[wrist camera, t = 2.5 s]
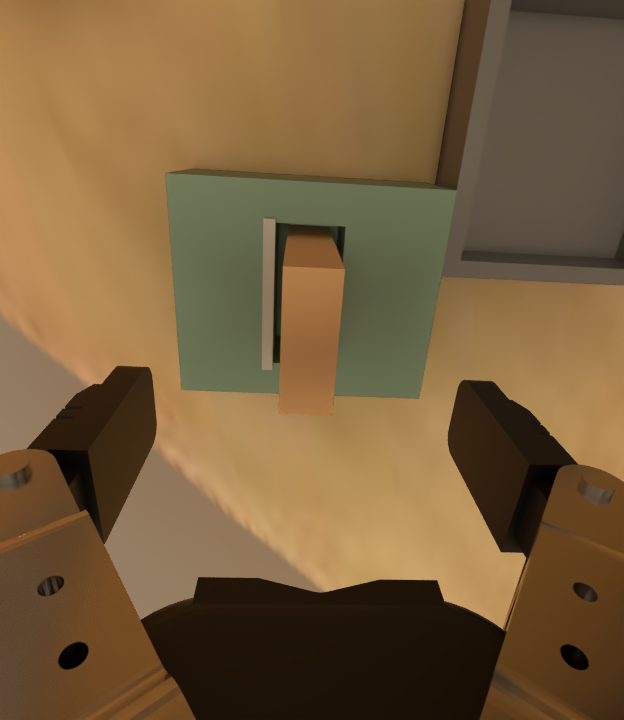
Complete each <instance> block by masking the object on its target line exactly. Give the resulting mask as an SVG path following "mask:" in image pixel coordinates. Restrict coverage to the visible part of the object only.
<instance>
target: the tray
mask: <svg viewBox="0 0 624 720" xmlns="http://www.w3.org/2000/svg"><path fill="white" fill-rule="evenodd" d="M435 185H437V186H441V187H445V188H449V189H453V190H457V192H456V197H455V203H454V208H453V214H452V220H451V225H450V231H449V236H448V242H447V247H446V253H445V258H444V264H443V269H442V275H441V276H445V277H464V278H484V279H504V280H524V281H544V282H564V283H584V284H604V285H624V0H465V4H464V10H463V16H462V22H461V29H460V35H459V41H458V47H457V53H456V60H455V66H454V72H453V78H452V84H451V91H450V97H449V103H448V109H447V115H446V122H445V128H444V134H443V140H442V146H441V152H440V159H439V165H438V171H437V177H436V183H435Z"/></svg>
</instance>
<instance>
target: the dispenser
mask: <svg viewBox="0 0 624 720" xmlns="http://www.w3.org/2000/svg"><path fill="white" fill-rule="evenodd" d="M165 177H166V190H167V203H168V217H169V230H170V243H171V257H172V270H173V283H174V297H175V310H176V323H177V337H178V350H179V363H180V377H181V390H195V391H222V392H249V393H276V394H279V379H280V345H281V311H282V278H283V262H284V255H285V248H286V241H287V234H288V227H289V225H307V226H325V227H329V229H330V232H331V234H332V237H333V240H334V242H335V245H336V247H337V250H338V253H339V255H340V258H341V260H342V263H343V265H344V268H345V276H344V287H343V298H342V310H341V321H340V332H339V343H338V355H337V366H336V377H335V388H334V396H358V397H385V398H412V399H419V396H420V391H421V385H422V380H423V374H424V369H425V363H426V358H427V352H428V347H429V341H430V335H431V330H432V324H433V319H434V313H435V308H436V302H437V297H438V291H439V286H440V280H441V275H442V269H443V264H444V258H445V253H446V247H447V242H448V236H449V231H450V225H451V220H452V214H453V208H454V203H455V197H456V192H457V190H453V189H449V188H445V187H441V186H437V185H433V184H429V183H421V182H404V181H387V180H371V179H354V178H338V177H321V176H304V175H288V174H271V173H255V172H238V171H221V170H205V169H187V170H181V171H175V172H169V173H165Z"/></svg>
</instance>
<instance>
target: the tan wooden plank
mask: <svg viewBox="0 0 624 720" xmlns="http://www.w3.org/2000/svg"><path fill="white" fill-rule="evenodd" d="M344 276H345V268H344V265H343V263H342V260H341V258H340V255H339V253H338V250H337V247H336V245H335V242H334V240H333V237H332V234H331V232H330V229H329V227H325V226H307V225H289V227H288V234H287V241H286V248H285V255H284V262H283V278H282V311H281V345H280V379H279V413H280V414H309V415H332V411H333V400H334V388H335V377H336V366H337V355H338V343H339V332H340V321H341V310H342V298H343V287H344Z"/></svg>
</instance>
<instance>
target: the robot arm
mask: <svg viewBox="0 0 624 720" xmlns="http://www.w3.org/2000/svg"><path fill="white" fill-rule="evenodd" d="M156 426H157V421H156V410H155V400H154V390H153V380H152V373H151V370H150V368H149V367H132V366H117V367H116V368H115V369H114V370H113V371H112V372H111V373H110V375H109V376H108V377H107V378H106V379H105V381H104V382H103V383H102V384H93V385H92V386H90V387H88V388H86V389H85V390H83V391H81V392H79V393H77V394H76V395H75V396H74V397H73V398H72V399H71V400H70V401H69V403H68V404H67V405H66V406H65V409H62V410H61V411H60V412H59V414H58V415H57V416H56V419H53V420H52V421H51V423H50V424H49V425H48V426H47V427H46V428H45V429H44V430H43V431H42V432H41V434H40V435H39V436H38V437H37V438H36V439H35V440H34V441H33V442H32V443H31V445H30V446H29V447H28V448H27V449H23V450H17V451H11V452H8V453H4V454H1V455H0V720H624V482H623V481H621V480H620V479H618V478H617V477H615V476H613V475H611V474H609V473H607V472H605V471H602V470H600V469H597V468H594V467H590V466H585V465H578V464H577V463H576V461H575V460H574V459H573V458H572V457H571V456H570V455H569V454H568V453H567V452H566V450H565V449H564V448H563V447H562V446H561V445H560V444H559V443H558V442H557V441H556V439H555V438H554V437H553V436H550V433H549V432H548V431H547V429H546V428H545V427H544V426H543V425H541V423H540V422H539V421H538V420H537V418H536V417H535V416H534V415H533V414H532V413H531V412H530V411H529V410H527V409H526V408H524V407H523V406H521V405H519V404H518V403H516V402H514V401H513V400H509V399H508V398H507V397H506V396H505V394H504V393H503V392H502V391H501V390H500V389H499V387H498V386H497V385H496V384H495V383H494V382H492V381H474V380H463V381H462V382H461V383H460V384H459V387H458V390H457V395H456V399H455V404H454V408H453V413H452V417H451V421H450V426H449V431H448V446H449V451H450V454H451V456H452V458H453V460H454V462H455V464H456V466H457V468H458V470H459V472H460V473H461V475H462V477H463V479H464V481H465V483H466V485H467V487H468V489H469V491H470V493H471V495H472V497H473V499H474V501H475V503H476V505H477V506H478V508H479V510H480V512H481V514H482V516H483V518H484V520H485V522H486V524H487V526H488V528H489V530H490V532H491V534H492V536H493V538H494V539H495V541H496V543H497V545H498V547H499V549H500V551H501V552H516V553H524V555H525V557H526V560H525V563H524V566H523V569H522V571H521V574H520V577H519V580H518V583H517V586H516V589H515V592H514V595H513V598H512V601H511V604H510V607H509V610H508V613H507V616H506V619H505V622H504V625H503V628H502V629H501V628H500V627H498V626H497V625H496V624H494V623H493V622H491V621H489V620H487V619H486V618H484V617H482V616H481V615H479V614H477V613H475V612H472V611H470V610H468V609H466V608H464V607H461V606H458V605H455V604H452V603H449V602H445V601H444V599H443V596H442V593H441V590H440V587H439V584H438V581H437V580H376V581H372V582H368V583H363V584H359V585H355V586H350V587H346V588H342V589H337V590H333V591H329V592H323V593H318V592H312V591H308V590H304V589H300V588H296V587H292V586H288V585H284V584H280V583H276V582H272V581H268V580H264V579H260V578H215V577H213V578H211V577H198V581H197V586H196V590H195V594H194V598H191V599H187V600H183V601H180V602H177V603H174V604H172V605H169V606H166V607H164V608H162V609H160V610H158V611H155V612H153V613H152V614H150V615H148V616H147V617H145V618H143V619H141V620H140V618H139V616H138V614H137V612H136V610H135V608H134V606H133V604H132V602H131V600H130V598H129V595H128V594H127V591H126V589H125V587H124V585H123V583H122V581H121V579H120V577H119V575H118V573H117V571H116V569H115V567H114V565H113V562H112V561H111V558H110V556H109V554H108V552H107V550H106V548H105V546H104V544H105V542H106V540H107V538H108V536H109V534H110V532H111V530H112V528H113V526H114V524H115V522H116V520H117V518H118V516H119V513H120V512H121V510H122V507H123V505H124V503H125V501H126V499H127V497H128V495H129V493H130V491H131V489H132V487H133V485H134V483H135V481H136V479H137V476H138V474H139V473H140V470H141V468H142V466H143V464H144V462H145V460H146V458H147V456H148V454H149V452H150V450H151V448H152V446H153V443H154V440H155V436H156Z"/></svg>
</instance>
